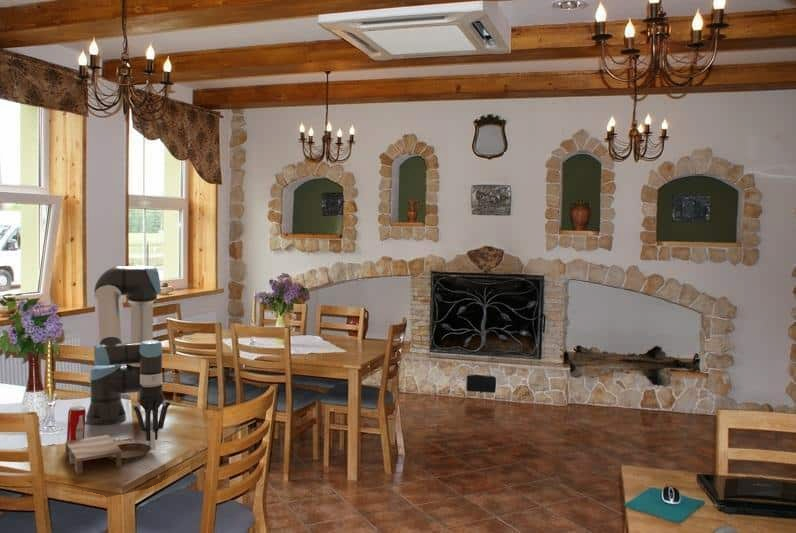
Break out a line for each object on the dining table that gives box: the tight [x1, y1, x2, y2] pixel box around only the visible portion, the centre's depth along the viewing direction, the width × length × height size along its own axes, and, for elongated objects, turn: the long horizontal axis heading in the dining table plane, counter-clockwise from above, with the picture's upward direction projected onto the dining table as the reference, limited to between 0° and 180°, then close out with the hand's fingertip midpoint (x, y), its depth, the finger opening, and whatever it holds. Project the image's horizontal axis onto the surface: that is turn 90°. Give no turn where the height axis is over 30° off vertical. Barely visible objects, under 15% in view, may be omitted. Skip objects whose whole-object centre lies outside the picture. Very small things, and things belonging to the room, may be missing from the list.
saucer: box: [107, 442, 151, 463], centre depth 242 cm, size 15×15×3 cm
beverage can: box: [66, 405, 87, 441], centre depth 250 cm, size 6×6×15 cm
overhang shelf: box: [65, 434, 122, 477], centre depth 236 cm, size 20×14×6 cm
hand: (151, 449), depth 247 cm, fingers closed
